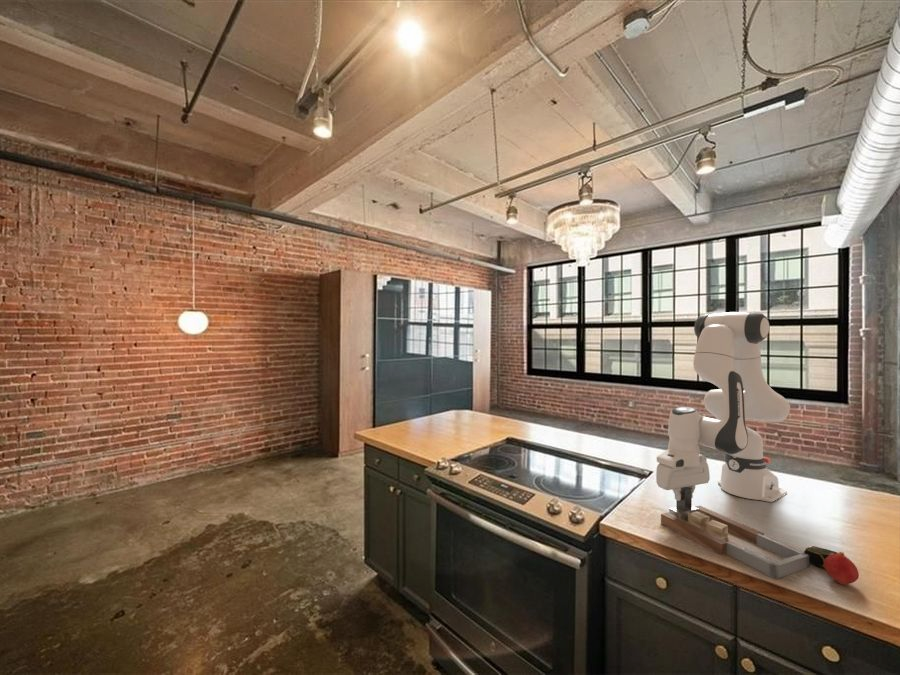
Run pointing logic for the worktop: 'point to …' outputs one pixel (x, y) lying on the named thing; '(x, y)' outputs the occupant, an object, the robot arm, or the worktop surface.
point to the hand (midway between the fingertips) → (683, 499)
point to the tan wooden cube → (698, 519)
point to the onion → (841, 568)
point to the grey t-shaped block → (684, 505)
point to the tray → (773, 569)
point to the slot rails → (706, 537)
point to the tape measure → (818, 555)
